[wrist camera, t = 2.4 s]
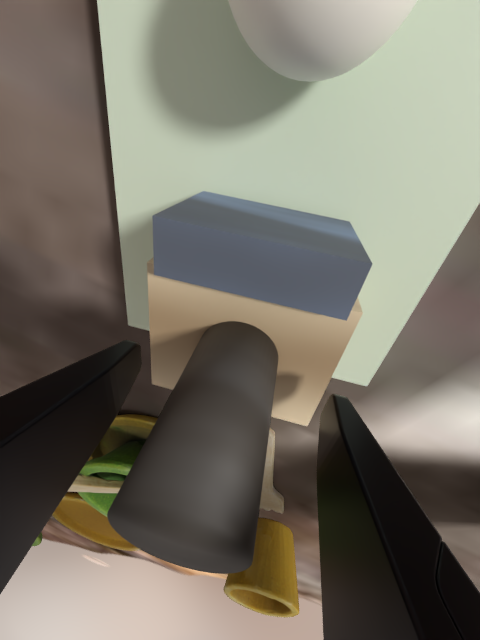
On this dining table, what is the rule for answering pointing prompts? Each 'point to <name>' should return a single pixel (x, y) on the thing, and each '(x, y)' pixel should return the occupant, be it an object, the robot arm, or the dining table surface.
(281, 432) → the dining table surface
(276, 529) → the tableware set
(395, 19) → the ball
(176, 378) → the sled
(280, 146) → the pitch
